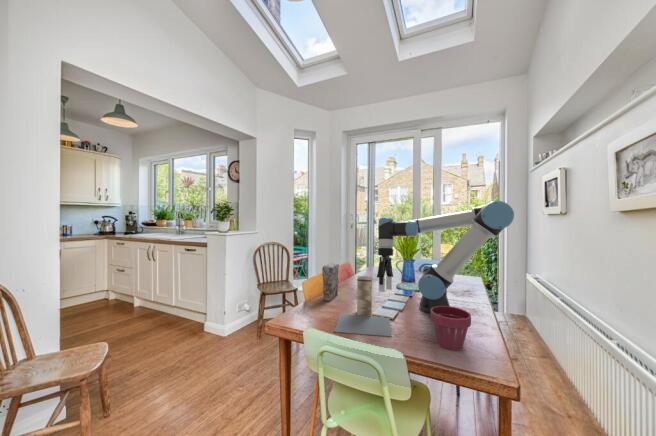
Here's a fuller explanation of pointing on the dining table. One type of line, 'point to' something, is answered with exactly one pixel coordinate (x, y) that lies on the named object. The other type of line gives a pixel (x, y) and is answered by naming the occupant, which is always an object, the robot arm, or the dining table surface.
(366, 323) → the slate mat
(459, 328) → the plant pot
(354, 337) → the dining table surface
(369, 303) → the birch block
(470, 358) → the dining table surface
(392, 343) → the dining table surface
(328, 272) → the stone block
